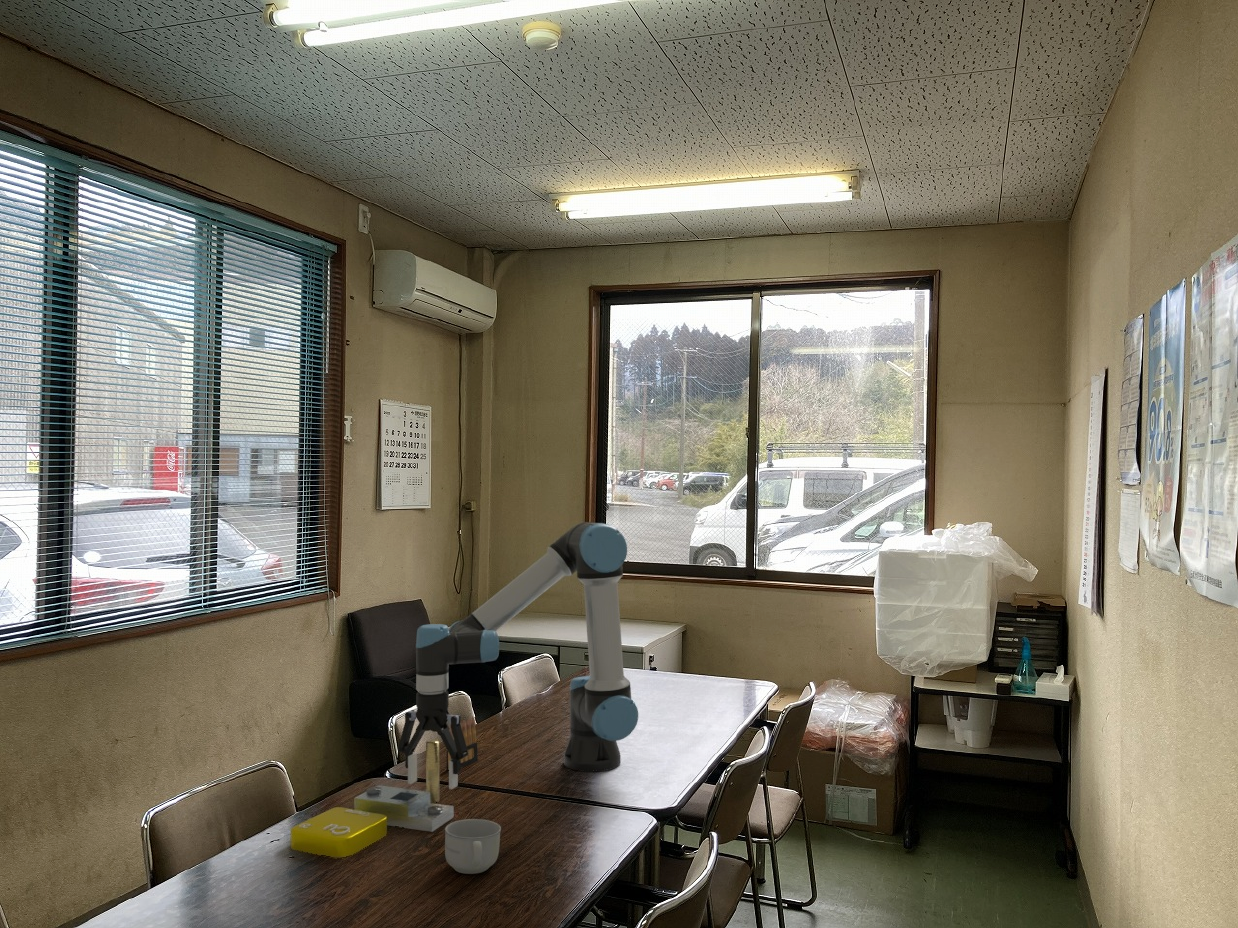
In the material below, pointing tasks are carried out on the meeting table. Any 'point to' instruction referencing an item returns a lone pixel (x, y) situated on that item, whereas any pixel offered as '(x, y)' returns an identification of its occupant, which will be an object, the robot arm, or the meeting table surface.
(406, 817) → the bolted socket block
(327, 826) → the element tile
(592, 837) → the meeting table surface
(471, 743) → the ammunition clip
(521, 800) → the meeting table surface
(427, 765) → the brass pin
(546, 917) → the meeting table surface
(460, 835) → the teacup
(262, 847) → the meeting table surface
